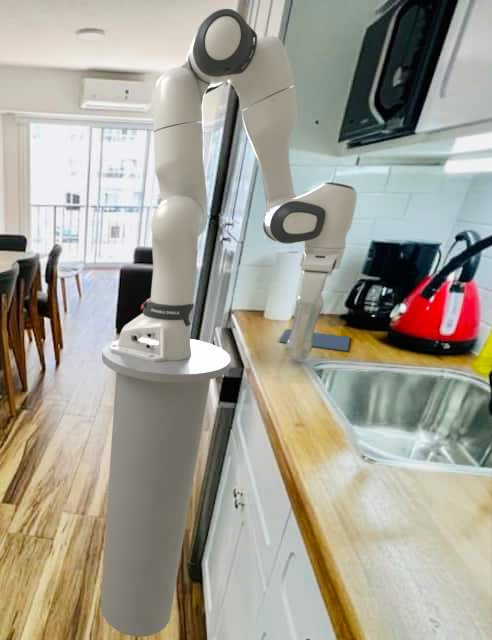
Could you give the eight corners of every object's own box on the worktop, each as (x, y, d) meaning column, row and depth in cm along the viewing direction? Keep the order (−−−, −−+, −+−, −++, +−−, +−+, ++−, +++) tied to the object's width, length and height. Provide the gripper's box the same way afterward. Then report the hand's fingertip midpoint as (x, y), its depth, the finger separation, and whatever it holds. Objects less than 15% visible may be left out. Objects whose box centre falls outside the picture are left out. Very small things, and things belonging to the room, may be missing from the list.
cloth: (279, 342, 144) (280, 341, 144) (287, 330, 156) (287, 329, 156) (347, 351, 136) (347, 350, 136) (349, 338, 149) (349, 337, 148)
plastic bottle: (308, 356, 130) (329, 279, 120) (308, 363, 124) (330, 283, 115) (283, 353, 132) (301, 277, 123) (282, 360, 127) (301, 281, 117)
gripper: (311, 253, 125) (298, 307, 132) (302, 263, 110) (287, 323, 117) (338, 255, 123) (323, 310, 129) (332, 265, 107) (316, 326, 114)
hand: (306, 316), depth 123 cm, fingers closed on plastic bottle, 6 cm apart
